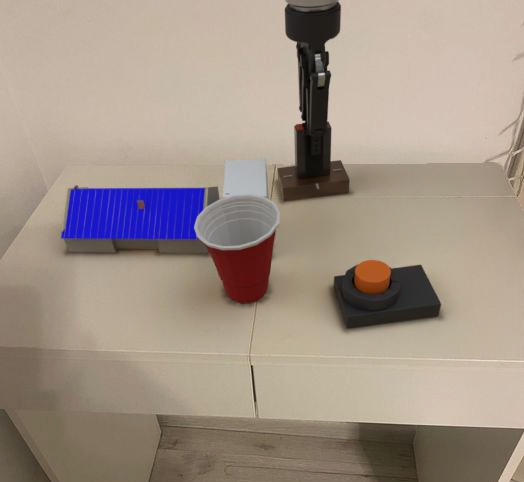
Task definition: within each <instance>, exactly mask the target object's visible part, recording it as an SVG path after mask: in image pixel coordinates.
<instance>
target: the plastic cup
mask: <svg viewBox="0 0 524 482" xmlns="http://www.w3.org/2000/svg"><path fill="white" fill-rule="evenodd" d="M280 218H281V211H280V209H279V208H278V205H277V204H276V202H274V201H272V200H270V198H269V199H267V198H265V197H262V196H257V195H252V194H246V195H233V196H230V197H226V198H223V199H222V198H220V200H218V201H216V202H214V203H212V204H211V205H209V206H207V207H206V208H205V209H204V210H203V211H202V212H201V213H200V214H199V215H198V216H197V219H196V222H195V225H194V229H195V232H196V235H197V237H198V239H199V240H201V241H202V242H203V243H204V244H205V246H206V247H207V249H208V251H209V252H208V253H209V254H210V256H211V258H212V262H213V264H214V267H215V270H216V272H217V274H218V277H219V279H220V281H221V282H222V285H223V287H224V290H225V293H226V295H227V296H228V298H229V299H231V301H233V302H235V303H239V304H251V303H255V302H257V301H259V300H261V299H263V298H264V296H265V295H266V294H267V292H268V291H267V290H268V288H269V281H270V276H271V270H272V269H271V268H272V261H273V252H274V245H275V244H274V243H275V240H276V239H275V238H276V233H277V229H278V228H279V224H280Z"/></svg>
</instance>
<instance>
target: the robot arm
mask: <svg viewBox="0 0 524 482" xmlns="http://www.w3.org/2000/svg"><path fill="white" fill-rule="evenodd" d="M284 1H285V2H286V6H285V7H284V31H285V36H286V37H287V39H289V40H291V41H292V42H295V43H296V45H295V49H296V58H297V74H298V75H297V76H298V77H297V78H298V102H299V103H298V104H299V106H298V110H299V111H300V113H301V114H300V119H301V120H302V123H301V124H302V125H304V124H307V130H302V133H303V136H305V145H306V172H314V171H321V170H323V138H324V135H326V134H327V122H328V119H329V117H328V115H329V100H330V99H329V97H330V96H329V95H330V85H331V78H332V73H331V70H330V69H329V70H328V67H329V65H330V52H329V51H328V50H327V51H326V43H327V42H328V41H331V40H333V39H335V38H336V37H338V35H339V34H340V32H341V23H342V21H341V18H342V4H341V3H340V2H339V1H340V0H284Z"/></svg>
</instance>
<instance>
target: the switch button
mask: <svg viewBox="0 0 524 482" xmlns="http://www.w3.org/2000/svg"><path fill="white" fill-rule="evenodd" d="M356 265H357V267H356V269H355V279H354V284H355V287H356V288H357V289H358V290H359V291H361V292H363V293H368V294H379V293H383V292H384V291H386V290H387V289H388V287H389V282H390V275H391V270H390V268H391V267H390V265H388V264H387V263H386V262H383V261H381V260H377V259H368V260H363V261H361V262H359V263H358V264H356ZM389 267H390V268H389Z"/></svg>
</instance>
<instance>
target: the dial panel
mask: <svg viewBox="0 0 524 482" xmlns="http://www.w3.org/2000/svg"><path fill="white" fill-rule="evenodd" d="M276 172H277V173H276V174H277V183H278V187H279V190H280V194H281V197H282V201H283V202H290V201H298V200H306V199H314V198H321V197H329V196H337V195H344V194H350V181H351V179H350V177H349V175H348V172H347V170H346V168H345V166H344V163H343V162H342V160H341V159H339V160H338V159H337V160H331V166H330V175H323V176H315V177H307V178H299V179H297V176H296V173H295V165H291V166H282V167H277V168H276Z"/></svg>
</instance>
